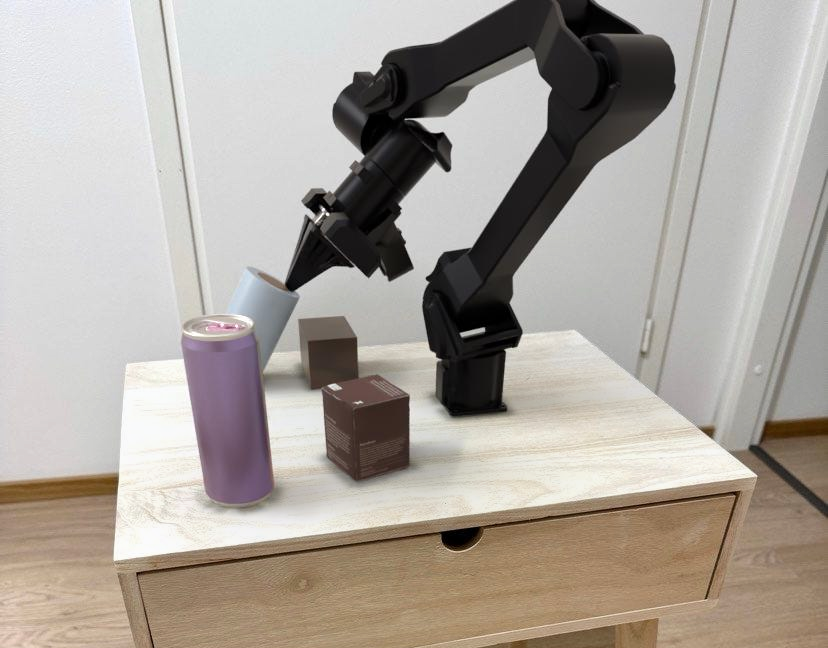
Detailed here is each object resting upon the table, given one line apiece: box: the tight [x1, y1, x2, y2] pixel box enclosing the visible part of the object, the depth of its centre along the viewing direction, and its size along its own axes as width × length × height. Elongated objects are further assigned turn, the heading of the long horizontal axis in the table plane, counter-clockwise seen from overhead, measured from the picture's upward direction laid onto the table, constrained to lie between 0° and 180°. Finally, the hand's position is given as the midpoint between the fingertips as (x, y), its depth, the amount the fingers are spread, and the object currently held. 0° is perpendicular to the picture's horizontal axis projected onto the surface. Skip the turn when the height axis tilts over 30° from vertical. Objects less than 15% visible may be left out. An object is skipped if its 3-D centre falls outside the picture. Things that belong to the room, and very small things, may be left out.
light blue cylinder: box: [224, 266, 301, 372], centre depth 85 cm, size 12×6×12 cm, turn 106°
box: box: [321, 373, 411, 482], centre depth 70 cm, size 6×6×7 cm
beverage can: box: [180, 313, 275, 509], centre depth 62 cm, size 6×6×15 cm
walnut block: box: [297, 315, 359, 390], centre depth 88 cm, size 6×8×6 cm
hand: (288, 288), depth 84 cm, fingers closed, pressing on light blue cylinder
